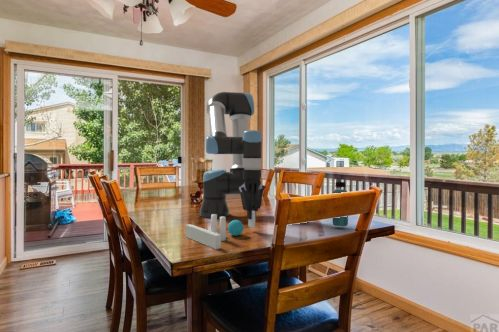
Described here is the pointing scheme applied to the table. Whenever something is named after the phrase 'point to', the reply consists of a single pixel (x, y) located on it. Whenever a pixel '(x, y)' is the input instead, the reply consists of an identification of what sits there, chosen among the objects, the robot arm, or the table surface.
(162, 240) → the table surface
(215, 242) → the back stop
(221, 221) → the pin
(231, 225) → the ball
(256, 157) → the robot arm
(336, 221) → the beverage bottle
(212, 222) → the pin
